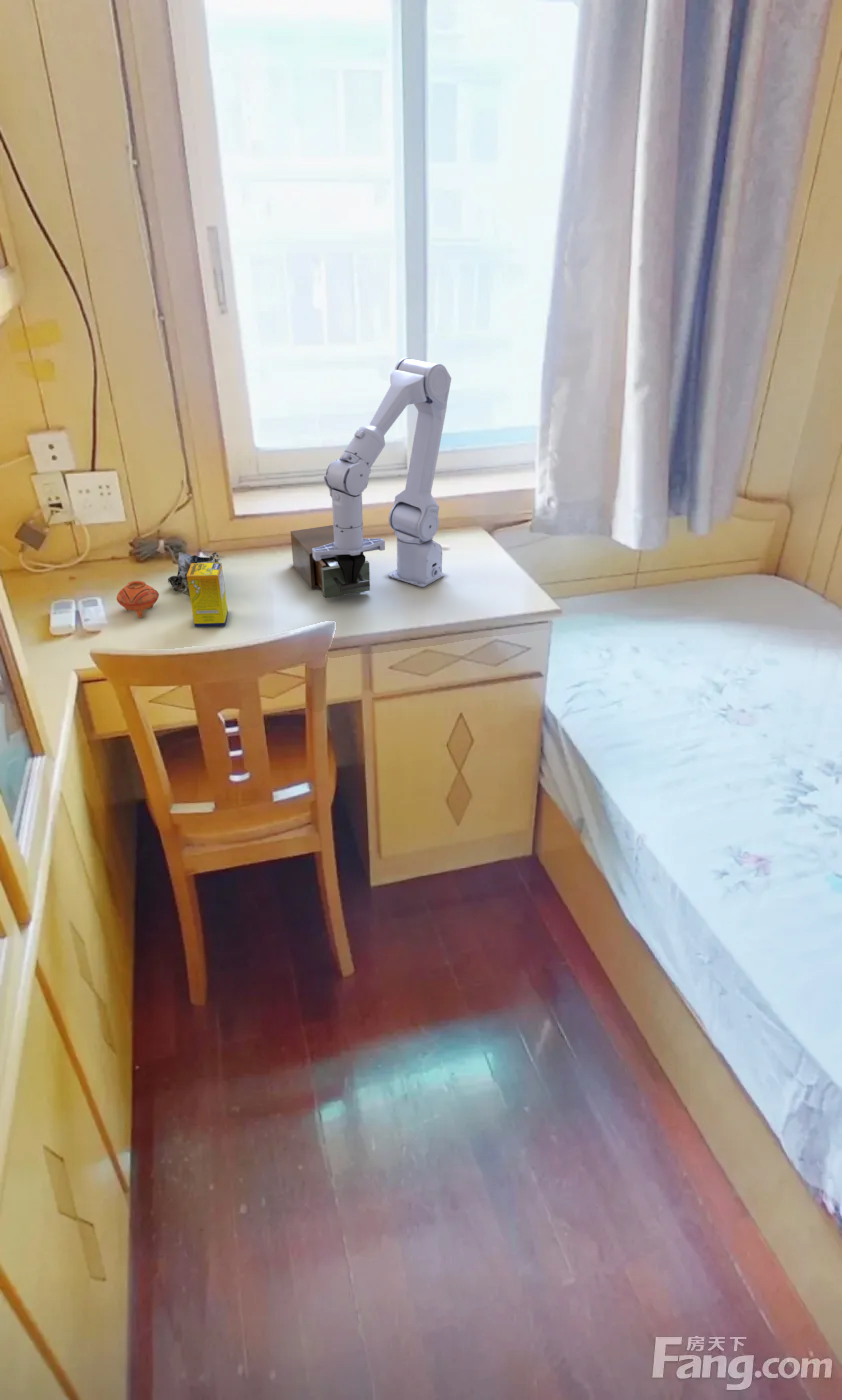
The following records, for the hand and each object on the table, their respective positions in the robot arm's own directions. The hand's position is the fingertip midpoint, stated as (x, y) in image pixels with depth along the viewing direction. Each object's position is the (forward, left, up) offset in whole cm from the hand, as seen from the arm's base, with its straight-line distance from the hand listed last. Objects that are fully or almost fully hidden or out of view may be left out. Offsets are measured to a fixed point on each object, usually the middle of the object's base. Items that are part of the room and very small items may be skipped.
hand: (350, 587), depth 168 cm
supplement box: (+17, +23, -4) cm, 28 cm away
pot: (+31, +29, -4) cm, 42 cm away
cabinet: (+14, -8, -3) cm, 16 cm away
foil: (+30, +14, -4) cm, 33 cm away
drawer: (+5, -3, -2) cm, 6 cm away
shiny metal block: (+6, -4, -1) cm, 8 cm away
